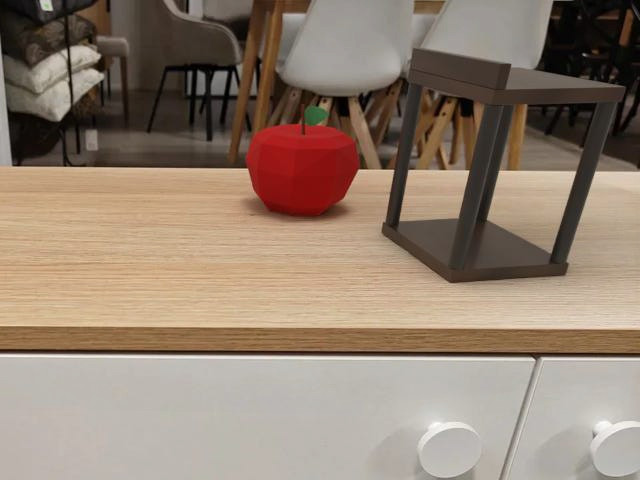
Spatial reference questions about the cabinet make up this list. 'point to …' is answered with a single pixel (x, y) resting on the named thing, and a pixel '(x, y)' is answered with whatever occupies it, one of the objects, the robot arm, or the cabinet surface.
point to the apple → (302, 165)
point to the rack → (492, 167)
